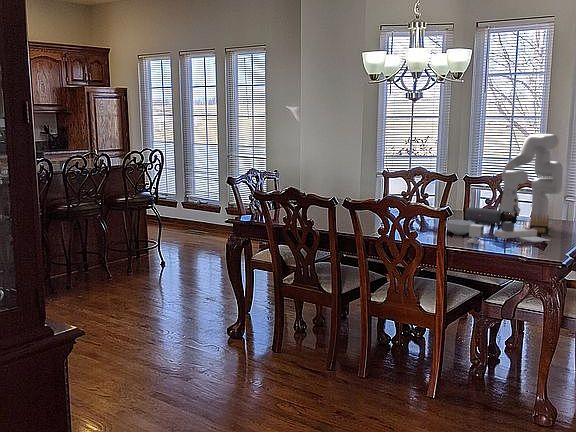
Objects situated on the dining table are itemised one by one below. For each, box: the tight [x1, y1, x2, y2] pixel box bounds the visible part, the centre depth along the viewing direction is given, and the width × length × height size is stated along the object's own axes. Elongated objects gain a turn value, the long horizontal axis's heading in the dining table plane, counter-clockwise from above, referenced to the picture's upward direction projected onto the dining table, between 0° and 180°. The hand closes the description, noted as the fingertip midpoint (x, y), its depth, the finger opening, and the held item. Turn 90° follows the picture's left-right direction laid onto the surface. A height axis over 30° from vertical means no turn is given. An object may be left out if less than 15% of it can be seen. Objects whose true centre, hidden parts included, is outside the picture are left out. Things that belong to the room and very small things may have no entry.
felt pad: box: [518, 236, 552, 243], centre depth 338 cm, size 12×12×1 cm
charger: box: [501, 221, 515, 232], centre depth 346 cm, size 5×4×7 cm
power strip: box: [494, 227, 538, 239], centre depth 349 cm, size 24×8×4 cm, turn 111°
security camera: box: [466, 223, 485, 245], centre depth 328 cm, size 6×7×10 cm
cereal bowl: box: [445, 219, 476, 236], centre depth 356 cm, size 17×17×7 cm
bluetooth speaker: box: [464, 206, 503, 225], centre depth 393 cm, size 23×9×10 cm, turn 42°
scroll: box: [498, 190, 513, 221], centre depth 408 cm, size 15×15×20 cm
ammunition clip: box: [529, 213, 550, 236], centre depth 356 cm, size 11×2×12 cm, turn 68°
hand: (507, 221), depth 346 cm, fingers open, 9 cm apart
